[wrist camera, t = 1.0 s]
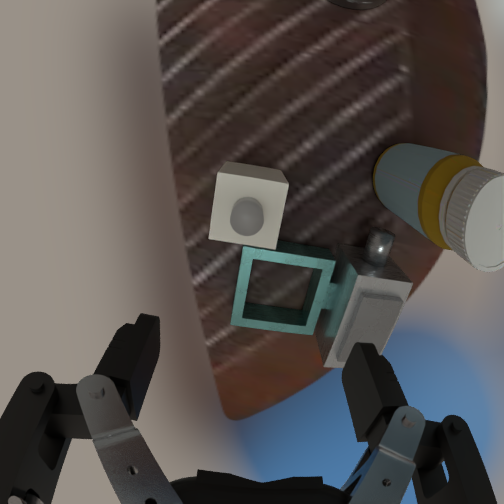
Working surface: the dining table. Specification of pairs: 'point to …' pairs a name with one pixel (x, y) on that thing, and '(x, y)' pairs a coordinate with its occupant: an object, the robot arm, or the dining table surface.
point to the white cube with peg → (248, 205)
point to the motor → (332, 295)
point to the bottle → (445, 200)
